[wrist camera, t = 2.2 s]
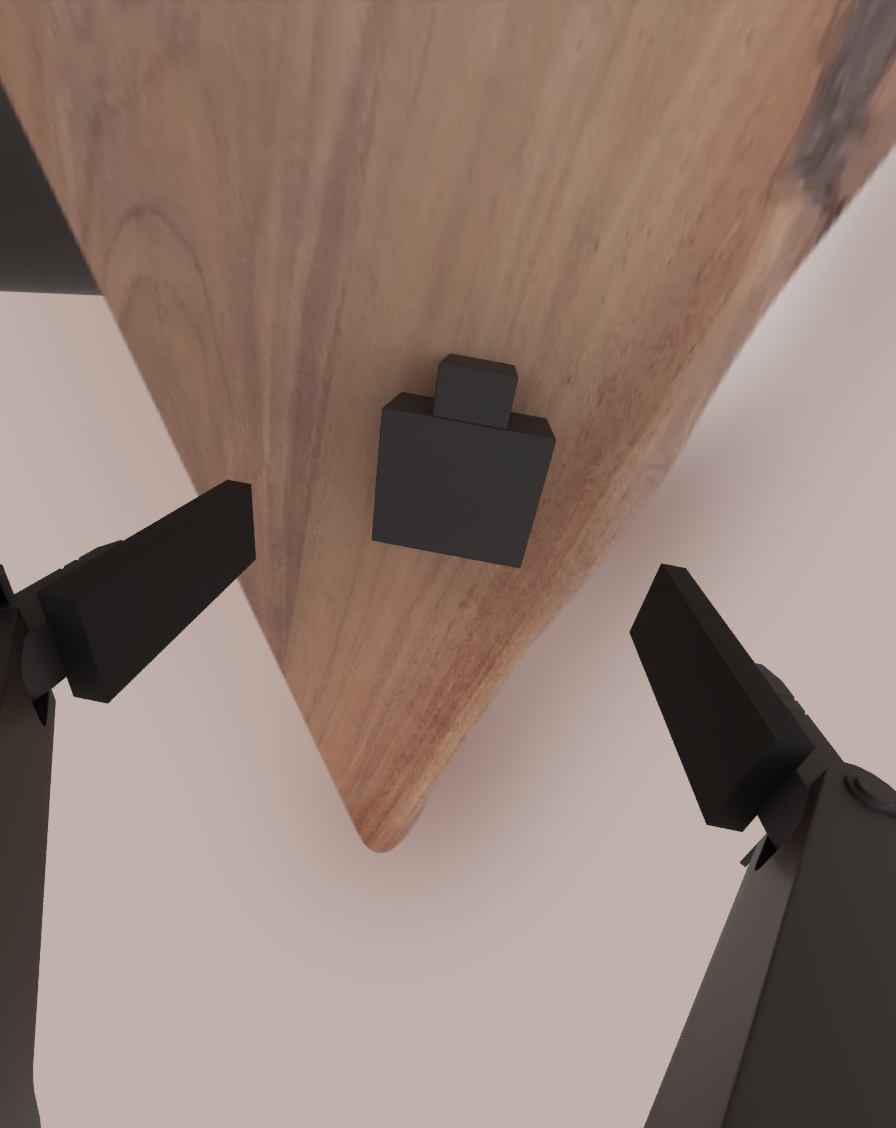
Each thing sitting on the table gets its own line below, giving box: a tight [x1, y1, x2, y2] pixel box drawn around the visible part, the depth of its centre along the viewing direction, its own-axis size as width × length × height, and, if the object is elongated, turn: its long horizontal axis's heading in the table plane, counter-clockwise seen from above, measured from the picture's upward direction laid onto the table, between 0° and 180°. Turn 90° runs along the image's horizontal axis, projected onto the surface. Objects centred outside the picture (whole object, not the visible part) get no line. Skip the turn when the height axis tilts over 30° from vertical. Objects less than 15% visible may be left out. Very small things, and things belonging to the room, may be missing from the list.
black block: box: [372, 354, 556, 568], centre depth 20 cm, size 7×8×4 cm
